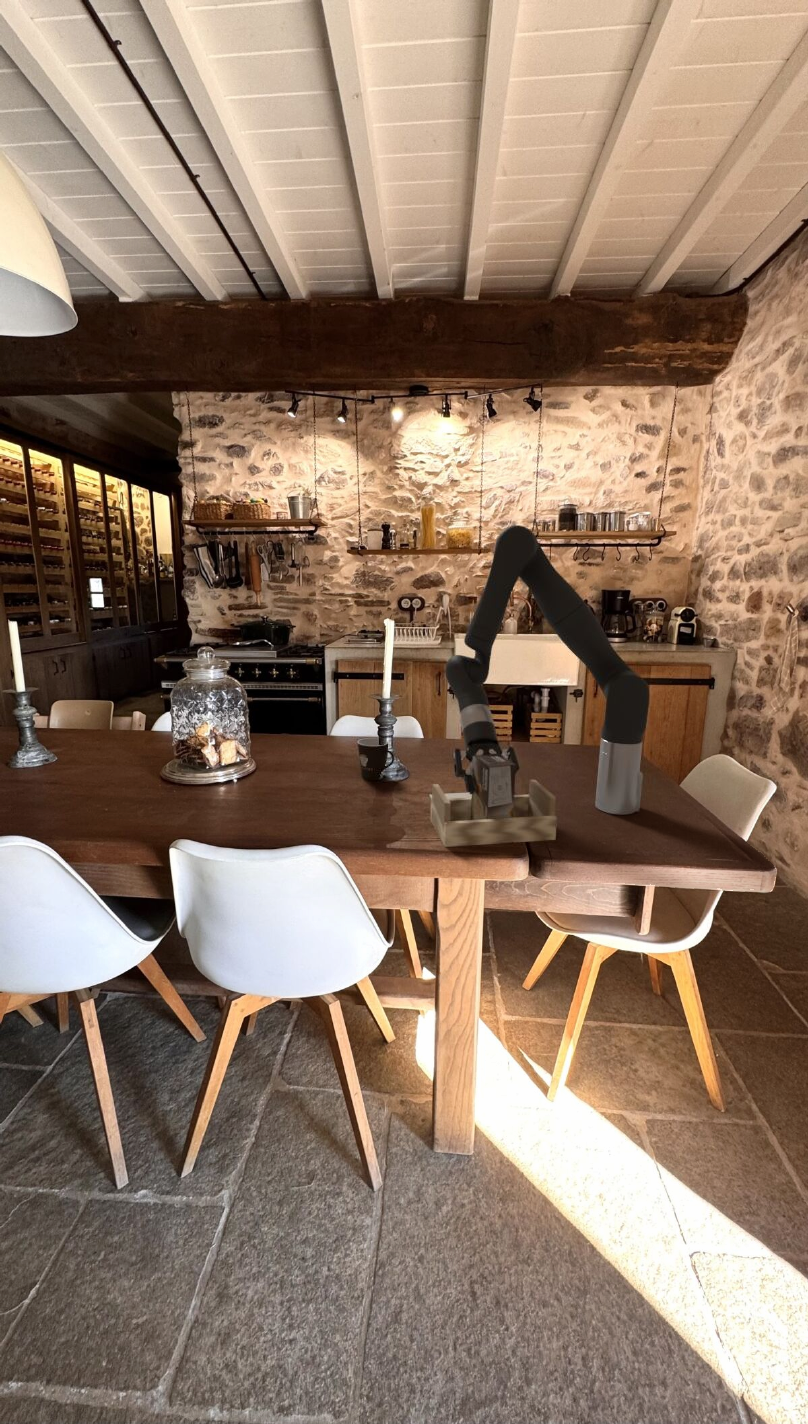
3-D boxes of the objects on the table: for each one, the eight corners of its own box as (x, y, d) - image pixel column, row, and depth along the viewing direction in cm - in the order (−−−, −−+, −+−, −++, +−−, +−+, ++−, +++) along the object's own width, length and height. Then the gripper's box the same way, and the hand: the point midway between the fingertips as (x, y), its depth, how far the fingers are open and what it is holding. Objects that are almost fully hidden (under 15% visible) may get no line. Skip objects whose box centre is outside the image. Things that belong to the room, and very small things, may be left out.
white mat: (497, 792, 151) (497, 791, 151) (513, 810, 139) (513, 808, 139) (429, 796, 148) (429, 794, 148) (440, 814, 136) (440, 812, 136)
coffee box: (513, 836, 125) (517, 764, 122) (486, 840, 123) (489, 767, 120) (494, 820, 134) (497, 752, 130) (468, 823, 132) (471, 754, 128)
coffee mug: (353, 773, 165) (353, 739, 163) (382, 770, 168) (383, 736, 166) (366, 786, 155) (366, 750, 152) (396, 783, 158) (397, 747, 155)
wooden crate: (530, 814, 137) (532, 777, 135) (555, 839, 124) (558, 799, 122) (430, 820, 133) (431, 782, 131) (445, 846, 120) (446, 805, 118)
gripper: (451, 720, 131) (463, 786, 123) (512, 718, 134) (527, 783, 125) (445, 737, 137) (456, 800, 129) (503, 735, 140) (517, 797, 131)
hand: (491, 792), depth 127 cm, fingers open, 8 cm apart
